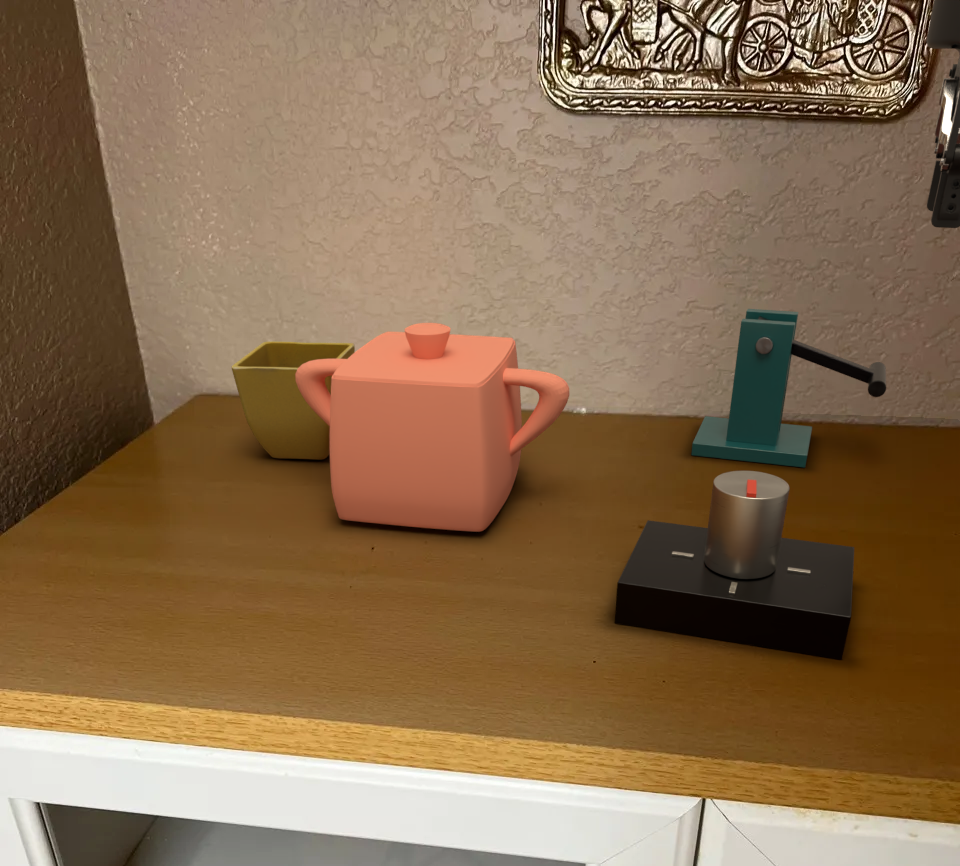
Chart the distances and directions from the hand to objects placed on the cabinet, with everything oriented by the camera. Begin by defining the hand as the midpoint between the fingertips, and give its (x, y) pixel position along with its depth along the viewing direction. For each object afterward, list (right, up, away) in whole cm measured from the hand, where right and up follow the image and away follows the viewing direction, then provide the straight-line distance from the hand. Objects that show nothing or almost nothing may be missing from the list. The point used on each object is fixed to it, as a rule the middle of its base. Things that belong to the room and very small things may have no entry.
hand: (942, 218), depth 77 cm
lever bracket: (-11, -15, +14) cm, 23 cm away
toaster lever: (-7, -10, +9) cm, 15 cm away
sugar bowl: (-40, -20, +6) cm, 45 cm away
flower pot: (-53, -16, +14) cm, 57 cm away
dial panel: (-20, -31, -12) cm, 38 cm away
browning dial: (-20, -28, -13) cm, 37 cm away
